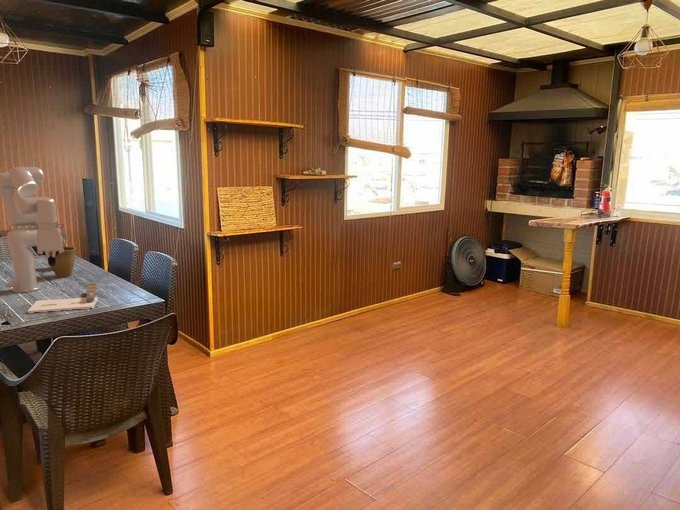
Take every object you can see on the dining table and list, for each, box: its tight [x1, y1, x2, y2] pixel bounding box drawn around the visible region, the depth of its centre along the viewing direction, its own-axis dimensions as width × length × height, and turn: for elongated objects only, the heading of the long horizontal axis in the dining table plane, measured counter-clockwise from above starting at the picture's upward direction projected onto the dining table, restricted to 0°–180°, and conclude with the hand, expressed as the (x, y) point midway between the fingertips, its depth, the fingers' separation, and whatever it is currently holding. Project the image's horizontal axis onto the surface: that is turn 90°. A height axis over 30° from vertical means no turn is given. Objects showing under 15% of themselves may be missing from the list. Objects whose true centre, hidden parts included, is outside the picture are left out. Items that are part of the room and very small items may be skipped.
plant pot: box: [49, 246, 77, 278], centre depth 282 cm, size 15×15×16 cm
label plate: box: [27, 296, 99, 314], centre depth 229 cm, size 26×16×2 cm, turn 108°
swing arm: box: [85, 282, 98, 301], centre depth 241 cm, size 24×3×3 cm, turn 22°
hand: (52, 265), depth 226 cm, fingers closed
